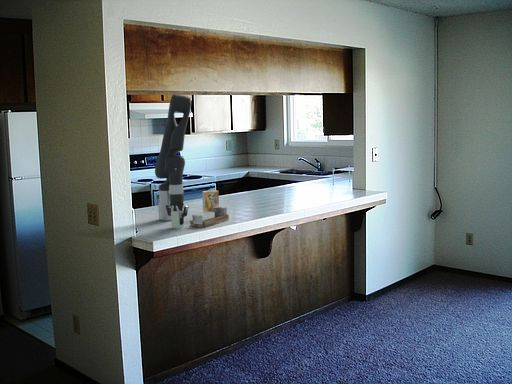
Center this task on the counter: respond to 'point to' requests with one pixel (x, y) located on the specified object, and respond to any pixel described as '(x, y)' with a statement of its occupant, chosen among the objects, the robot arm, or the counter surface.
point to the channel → (219, 217)
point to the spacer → (176, 219)
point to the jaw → (203, 217)
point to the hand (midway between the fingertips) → (177, 223)
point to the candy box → (210, 200)
